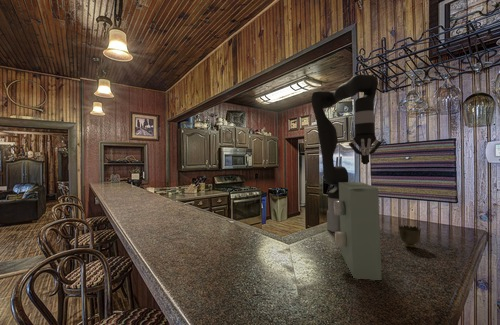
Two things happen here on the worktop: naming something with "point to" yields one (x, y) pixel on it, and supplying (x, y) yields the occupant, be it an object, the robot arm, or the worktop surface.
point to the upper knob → (339, 207)
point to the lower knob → (340, 239)
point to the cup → (409, 235)
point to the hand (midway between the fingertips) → (365, 164)
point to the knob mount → (361, 229)
